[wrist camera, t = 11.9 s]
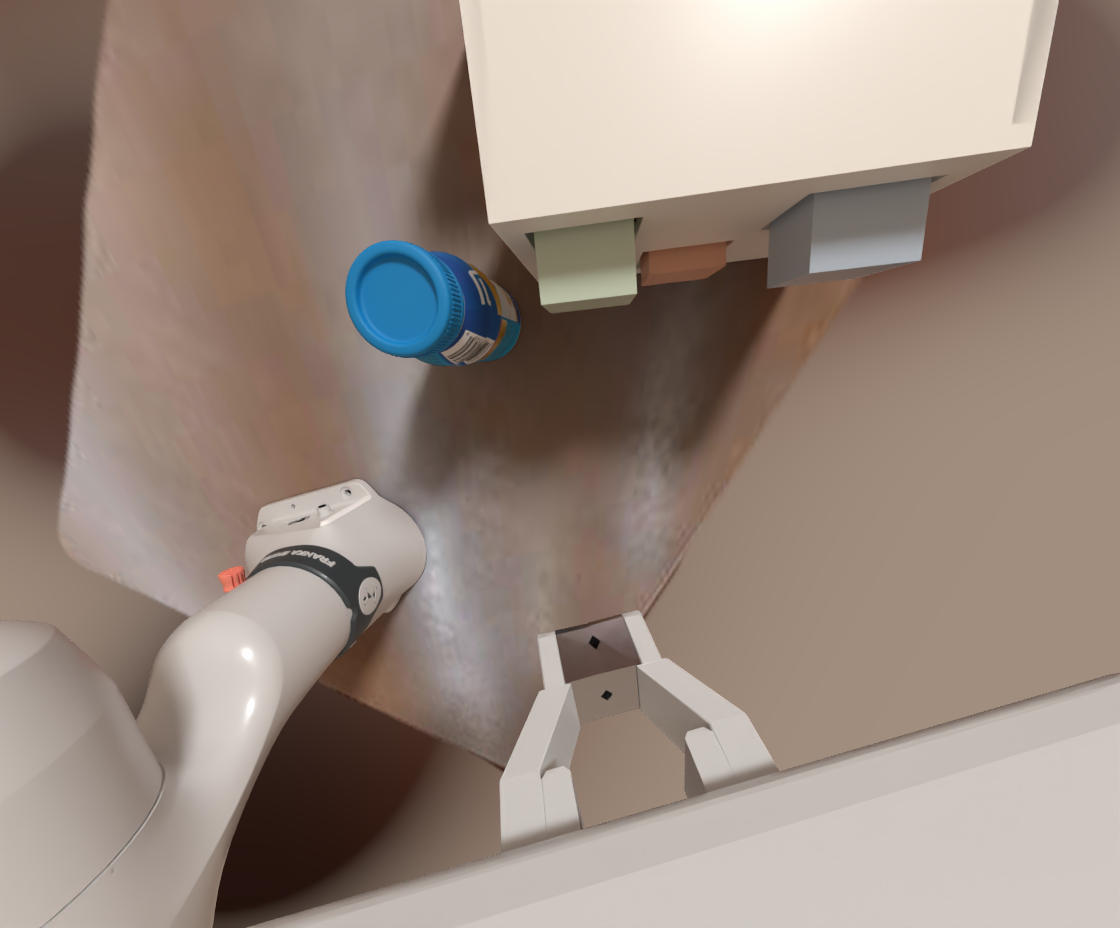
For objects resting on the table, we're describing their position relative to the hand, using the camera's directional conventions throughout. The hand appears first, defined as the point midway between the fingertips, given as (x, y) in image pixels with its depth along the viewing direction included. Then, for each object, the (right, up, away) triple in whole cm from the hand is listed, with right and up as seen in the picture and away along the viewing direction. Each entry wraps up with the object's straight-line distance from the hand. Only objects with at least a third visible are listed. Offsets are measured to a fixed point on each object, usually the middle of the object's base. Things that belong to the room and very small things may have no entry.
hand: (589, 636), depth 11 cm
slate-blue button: (+17, +21, +16) cm, 32 cm away
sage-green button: (+1, +20, +18) cm, 27 cm away
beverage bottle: (-9, +20, +32) cm, 39 cm away
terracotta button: (+10, +25, +25) cm, 37 cm away
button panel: (+10, +29, +27) cm, 41 cm away
